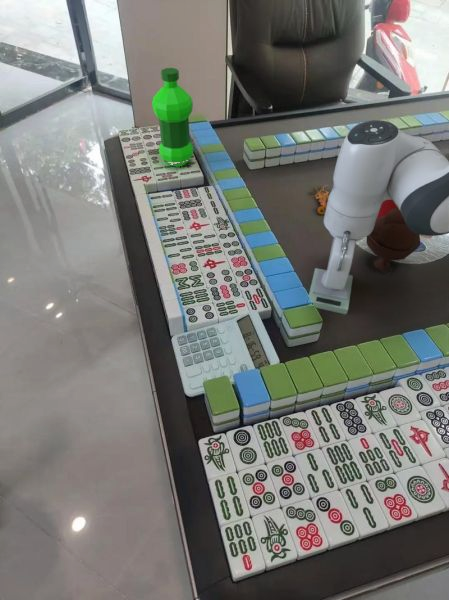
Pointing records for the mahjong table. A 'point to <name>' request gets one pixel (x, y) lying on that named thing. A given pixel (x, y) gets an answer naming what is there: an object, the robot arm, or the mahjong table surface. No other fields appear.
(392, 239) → the ice cream bowl
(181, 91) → the plastic bottle
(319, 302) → the scale
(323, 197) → the dragon
